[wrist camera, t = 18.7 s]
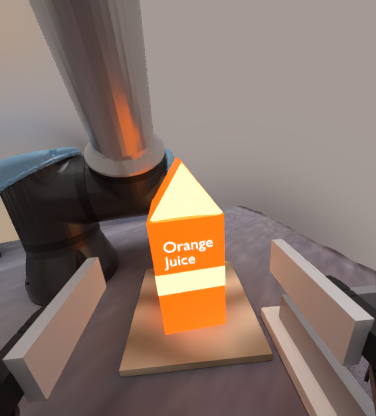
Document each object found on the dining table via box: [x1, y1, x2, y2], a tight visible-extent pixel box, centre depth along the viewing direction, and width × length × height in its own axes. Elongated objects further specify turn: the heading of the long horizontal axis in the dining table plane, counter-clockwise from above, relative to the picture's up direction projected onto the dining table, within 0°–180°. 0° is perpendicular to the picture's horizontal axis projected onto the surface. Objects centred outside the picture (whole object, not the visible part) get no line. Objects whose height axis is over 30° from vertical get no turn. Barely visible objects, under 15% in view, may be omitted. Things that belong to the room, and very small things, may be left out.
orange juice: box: [146, 157, 226, 335], centre depth 22 cm, size 8×9×20 cm
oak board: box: [119, 261, 273, 377], centre depth 26 cm, size 16×16×1 cm
